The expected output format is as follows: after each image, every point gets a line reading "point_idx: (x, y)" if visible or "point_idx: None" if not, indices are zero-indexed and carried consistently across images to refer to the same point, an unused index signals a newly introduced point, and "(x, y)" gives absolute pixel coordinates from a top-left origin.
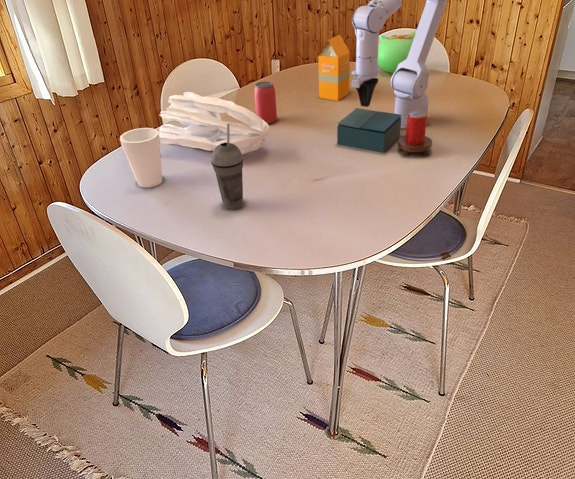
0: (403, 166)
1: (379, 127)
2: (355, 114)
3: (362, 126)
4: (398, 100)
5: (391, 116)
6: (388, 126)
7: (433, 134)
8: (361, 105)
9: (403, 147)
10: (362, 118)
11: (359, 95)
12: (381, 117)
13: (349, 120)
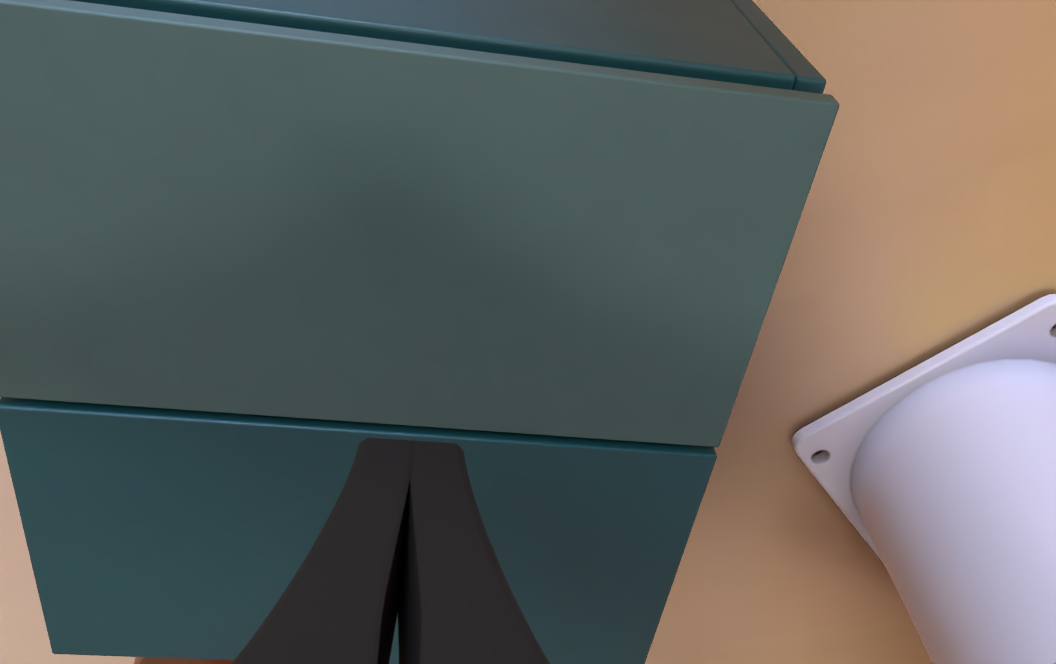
0: (12, 609)
1: (124, 593)
2: (496, 180)
3: (29, 420)
4: (1030, 632)
5: (550, 614)
6: (214, 654)
7: (718, 653)
8: (356, 455)
9: (134, 661)
10: (350, 335)
11: (283, 612)
12: None
13: (165, 166)
